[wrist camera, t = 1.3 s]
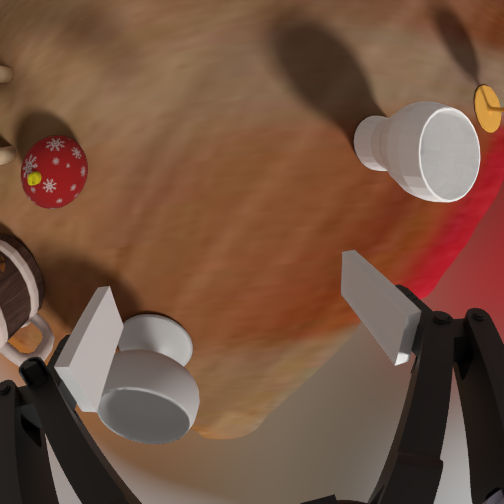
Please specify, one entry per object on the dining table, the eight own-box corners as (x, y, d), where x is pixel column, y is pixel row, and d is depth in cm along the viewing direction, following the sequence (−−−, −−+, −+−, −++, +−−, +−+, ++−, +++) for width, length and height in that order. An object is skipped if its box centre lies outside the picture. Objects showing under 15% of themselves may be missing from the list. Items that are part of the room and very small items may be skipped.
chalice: (122, 293, 40) (93, 364, 26) (212, 326, 44) (217, 403, 30) (105, 358, 44) (83, 428, 30) (182, 384, 48) (180, 456, 34)
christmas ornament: (99, 132, 31) (64, 134, 22) (97, 200, 34) (65, 222, 25) (43, 136, 30) (0, 141, 21) (43, 199, 33) (3, 220, 24)
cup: (328, 141, 36) (394, 149, 22) (376, 90, 34) (451, 80, 20) (376, 195, 40) (446, 228, 26) (418, 146, 38) (493, 161, 24)
